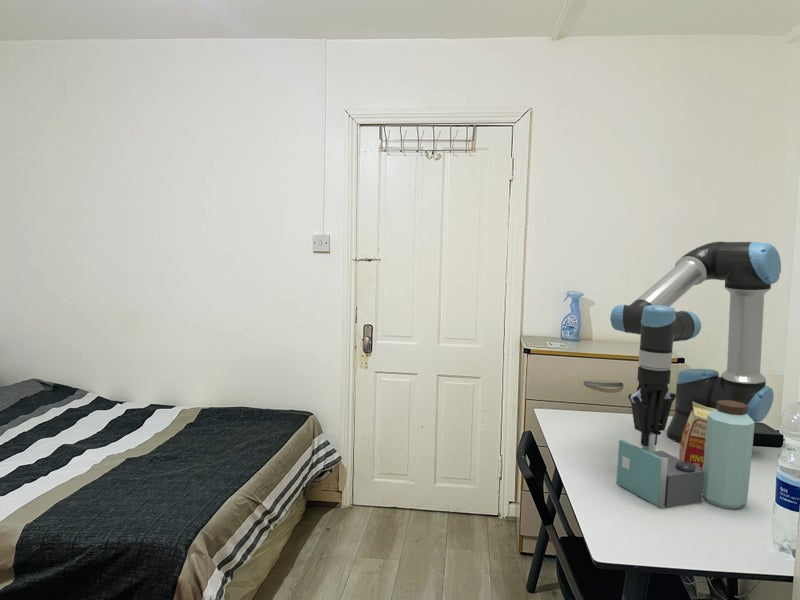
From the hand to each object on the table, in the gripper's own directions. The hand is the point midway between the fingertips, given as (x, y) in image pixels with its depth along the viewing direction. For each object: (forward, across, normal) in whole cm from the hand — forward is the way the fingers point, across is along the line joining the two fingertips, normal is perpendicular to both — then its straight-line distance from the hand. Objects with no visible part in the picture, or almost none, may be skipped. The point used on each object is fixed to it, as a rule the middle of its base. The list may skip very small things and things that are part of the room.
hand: (647, 457), depth 143 cm
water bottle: (+9, -15, +10) cm, 20 cm away
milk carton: (+9, -23, -6) cm, 26 cm away
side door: (+9, +3, +2) cm, 10 cm away
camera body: (+9, -4, +2) cm, 10 cm away
